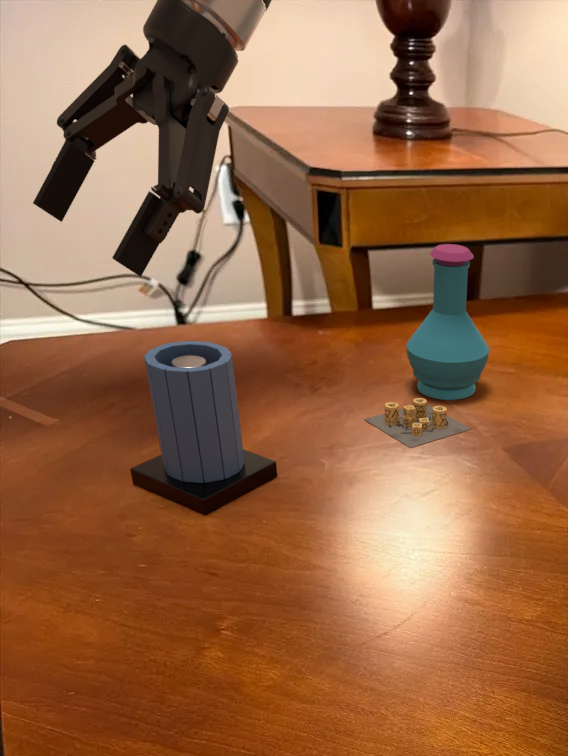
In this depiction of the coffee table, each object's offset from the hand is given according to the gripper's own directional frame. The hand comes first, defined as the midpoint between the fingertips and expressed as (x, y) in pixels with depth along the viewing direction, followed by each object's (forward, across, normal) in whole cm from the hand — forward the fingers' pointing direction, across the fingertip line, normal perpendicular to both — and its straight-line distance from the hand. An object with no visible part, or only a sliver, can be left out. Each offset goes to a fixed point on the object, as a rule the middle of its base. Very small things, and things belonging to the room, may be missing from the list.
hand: (85, 239), depth 79 cm
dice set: (-3, -24, -25) cm, 35 cm away
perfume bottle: (-8, -19, -32) cm, 39 cm away
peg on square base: (+12, -20, -7) cm, 25 cm away
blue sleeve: (+11, -20, -6) cm, 24 cm away
